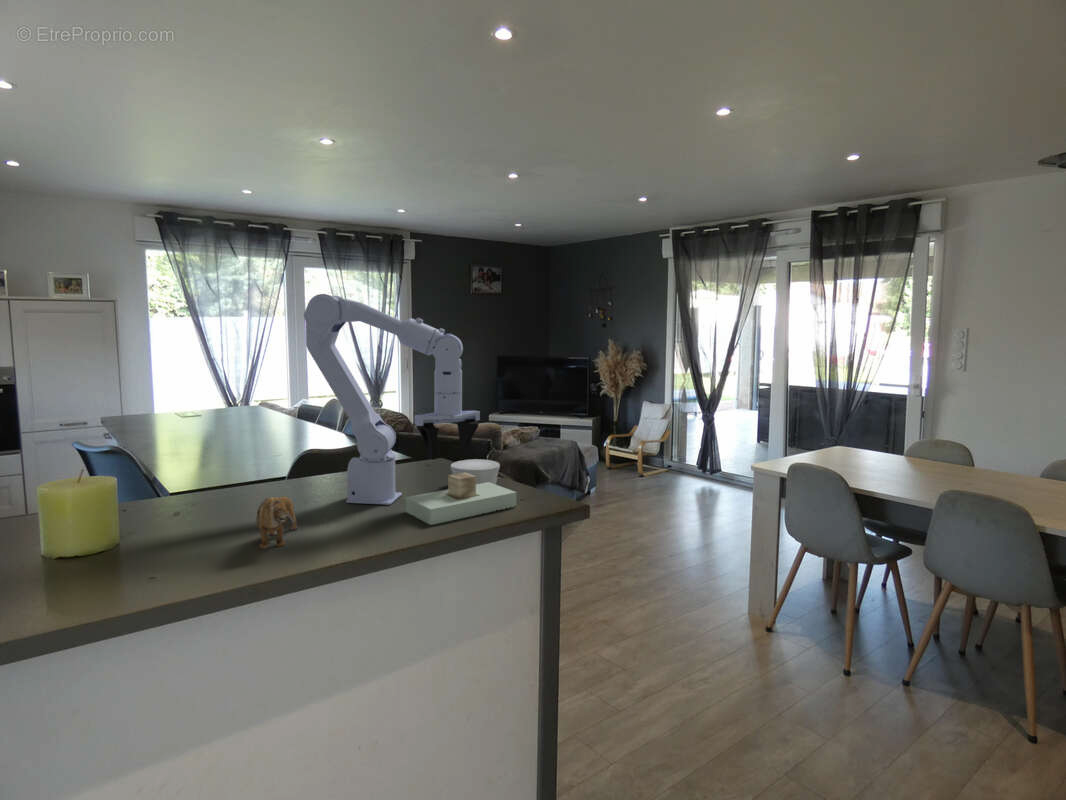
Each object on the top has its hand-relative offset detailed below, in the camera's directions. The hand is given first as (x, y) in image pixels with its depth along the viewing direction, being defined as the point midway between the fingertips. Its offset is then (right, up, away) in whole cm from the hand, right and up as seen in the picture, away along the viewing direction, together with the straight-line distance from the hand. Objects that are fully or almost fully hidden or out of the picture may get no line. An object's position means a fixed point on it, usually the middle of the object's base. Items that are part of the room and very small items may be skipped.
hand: (448, 456), depth 131 cm
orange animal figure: (-25, -12, -24) cm, 37 cm away
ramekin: (+5, -8, +13) cm, 16 cm away
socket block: (+4, -10, -5) cm, 12 cm away
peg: (+4, -10, -5) cm, 12 cm away
